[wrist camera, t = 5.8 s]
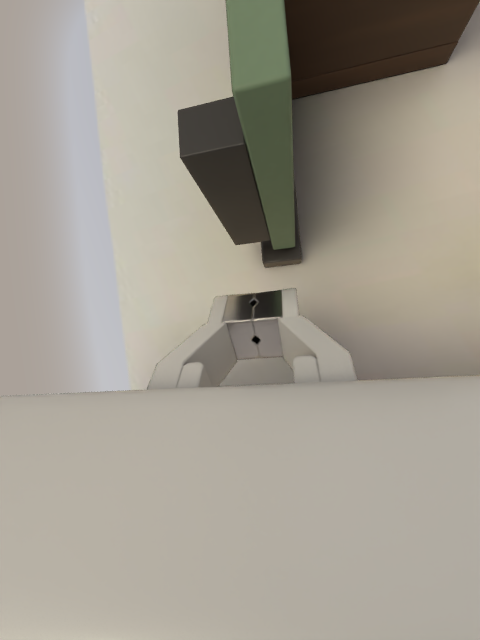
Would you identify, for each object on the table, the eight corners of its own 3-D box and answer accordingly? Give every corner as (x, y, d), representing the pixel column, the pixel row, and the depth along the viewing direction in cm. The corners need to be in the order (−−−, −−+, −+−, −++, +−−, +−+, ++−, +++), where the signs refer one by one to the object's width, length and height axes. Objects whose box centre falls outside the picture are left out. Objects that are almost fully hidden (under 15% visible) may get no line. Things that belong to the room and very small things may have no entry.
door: (295, 247, 15) (291, 75, 5) (241, 254, 16) (149, 111, 6) (277, 48, 16) (247, -394, 7) (227, 61, 17) (131, -325, 7)
